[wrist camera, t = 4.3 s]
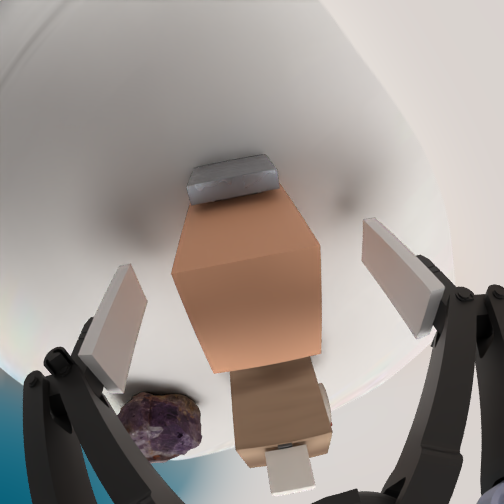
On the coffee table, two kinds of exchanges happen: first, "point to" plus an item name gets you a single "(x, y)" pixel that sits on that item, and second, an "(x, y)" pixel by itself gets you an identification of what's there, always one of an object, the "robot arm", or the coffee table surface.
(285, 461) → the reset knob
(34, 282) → the coffee table surface
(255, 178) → the rail
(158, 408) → the rock
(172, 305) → the coffee table surface
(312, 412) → the cabinet
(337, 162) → the coffee table surface
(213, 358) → the block
